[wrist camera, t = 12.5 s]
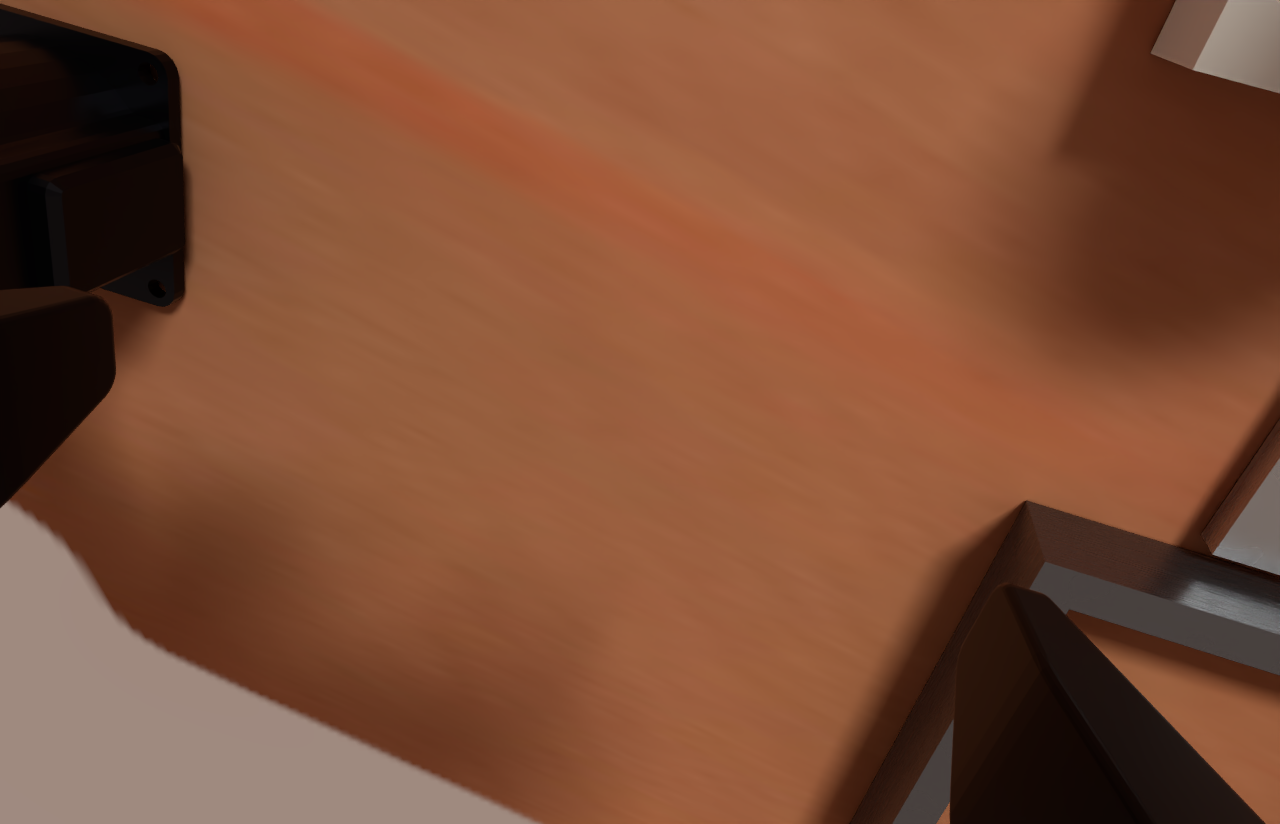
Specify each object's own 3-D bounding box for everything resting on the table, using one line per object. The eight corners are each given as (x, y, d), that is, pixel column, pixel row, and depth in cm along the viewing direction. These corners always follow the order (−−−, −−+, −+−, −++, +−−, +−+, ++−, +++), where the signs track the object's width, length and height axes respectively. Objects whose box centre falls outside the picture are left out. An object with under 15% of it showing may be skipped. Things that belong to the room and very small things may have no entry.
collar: (847, 829, 29) (846, 902, 26) (1026, 500, 22) (1045, 561, 20) (1261, 969, 28) (1296, 1057, 25) (1574, 668, 21) (1656, 752, 19)
